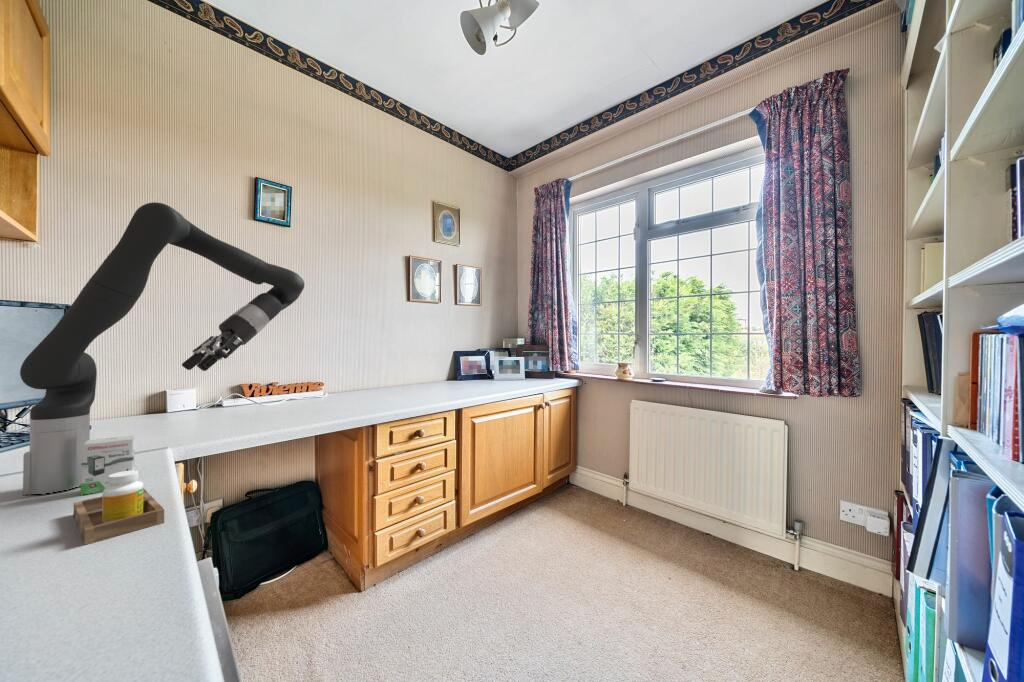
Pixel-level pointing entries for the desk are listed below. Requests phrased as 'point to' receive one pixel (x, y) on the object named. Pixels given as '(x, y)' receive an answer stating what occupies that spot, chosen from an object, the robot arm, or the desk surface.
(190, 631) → the desk surface
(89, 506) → the organizer
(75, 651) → the desk surface
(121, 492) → the supplement bottle
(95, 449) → the ink box
